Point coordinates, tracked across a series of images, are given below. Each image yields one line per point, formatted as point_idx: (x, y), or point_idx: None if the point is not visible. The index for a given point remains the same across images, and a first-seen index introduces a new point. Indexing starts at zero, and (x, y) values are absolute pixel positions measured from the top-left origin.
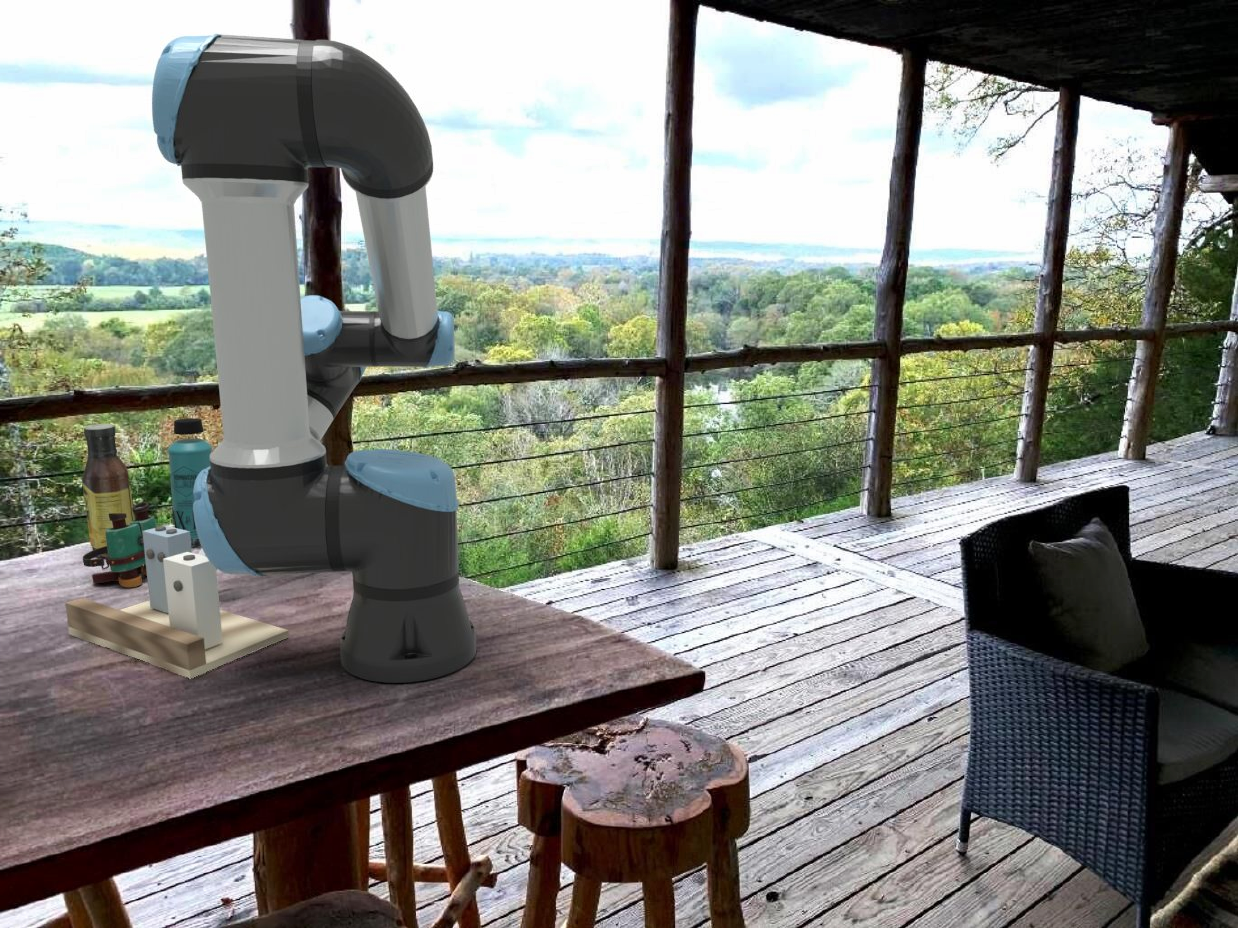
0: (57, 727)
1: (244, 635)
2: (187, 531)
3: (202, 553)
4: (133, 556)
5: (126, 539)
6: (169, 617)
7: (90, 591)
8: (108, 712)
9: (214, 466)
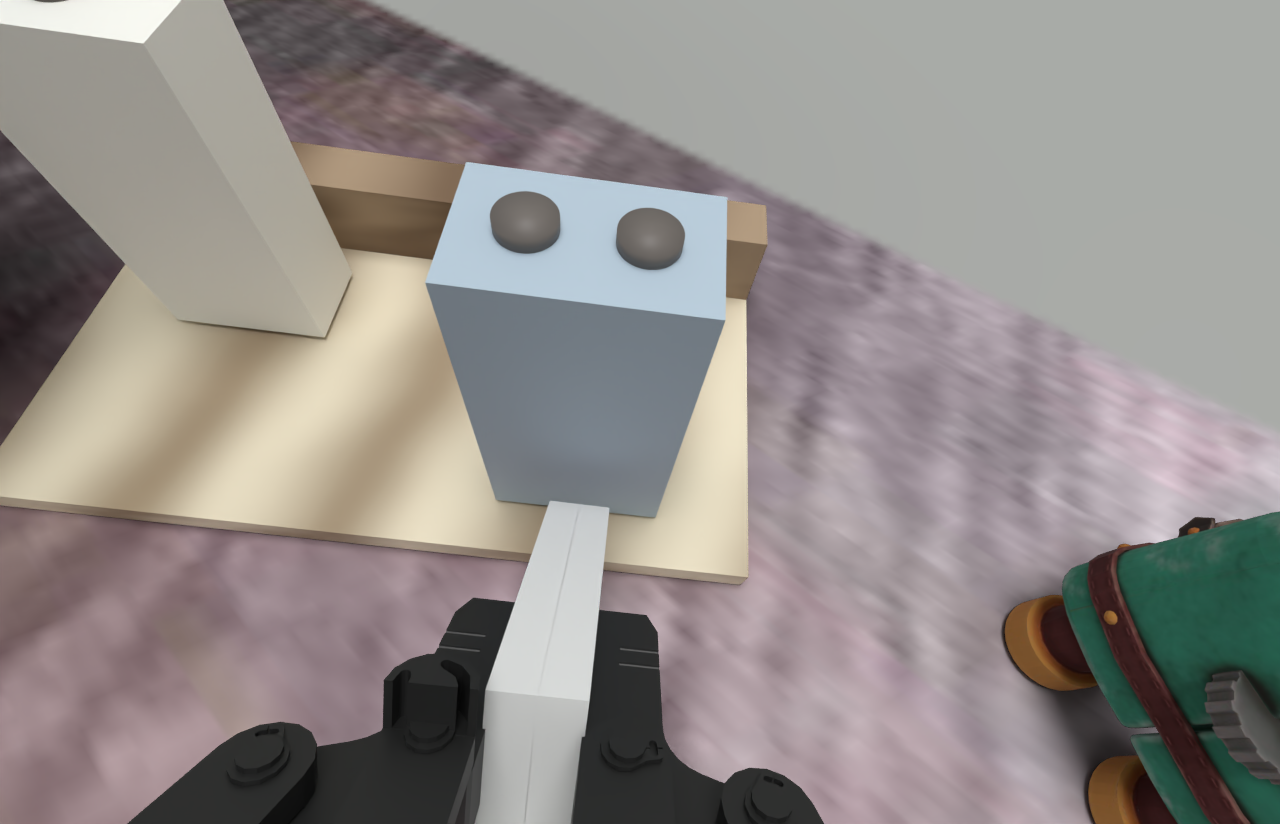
0: (334, 38)
1: (141, 396)
2: (443, 278)
3: (566, 565)
4: (1121, 622)
5: (1221, 584)
6: (320, 210)
7: (1078, 527)
8: (279, 83)
9: None
